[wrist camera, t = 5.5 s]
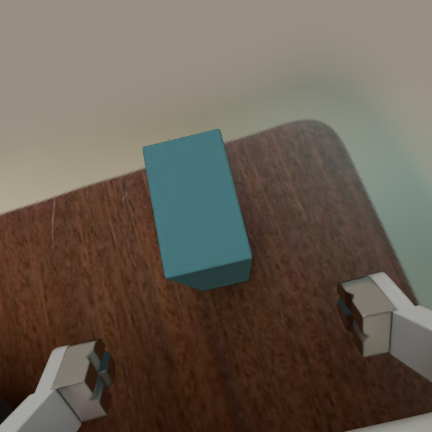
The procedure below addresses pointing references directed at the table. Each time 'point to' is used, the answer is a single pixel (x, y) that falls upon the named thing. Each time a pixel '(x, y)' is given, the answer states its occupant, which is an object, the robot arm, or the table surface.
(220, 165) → the teal rectangular block
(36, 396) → the robot arm
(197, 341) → the table surface
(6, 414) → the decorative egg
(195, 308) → the table surface
